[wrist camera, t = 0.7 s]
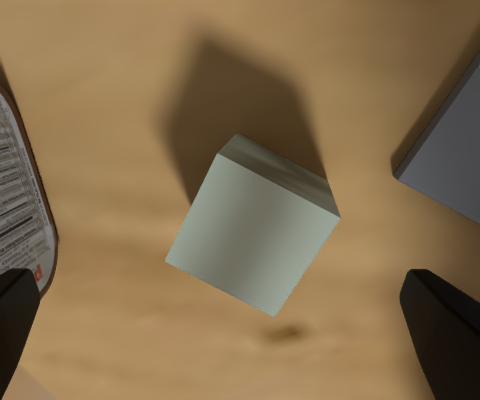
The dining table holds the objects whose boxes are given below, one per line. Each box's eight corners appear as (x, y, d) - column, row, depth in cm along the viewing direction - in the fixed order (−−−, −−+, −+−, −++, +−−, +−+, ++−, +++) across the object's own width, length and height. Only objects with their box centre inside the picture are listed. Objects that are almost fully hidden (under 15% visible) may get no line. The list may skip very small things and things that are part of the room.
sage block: (327, 180, 21) (341, 218, 15) (278, 258, 23) (274, 317, 18) (236, 132, 21) (217, 153, 15) (195, 215, 23) (164, 261, 17)
